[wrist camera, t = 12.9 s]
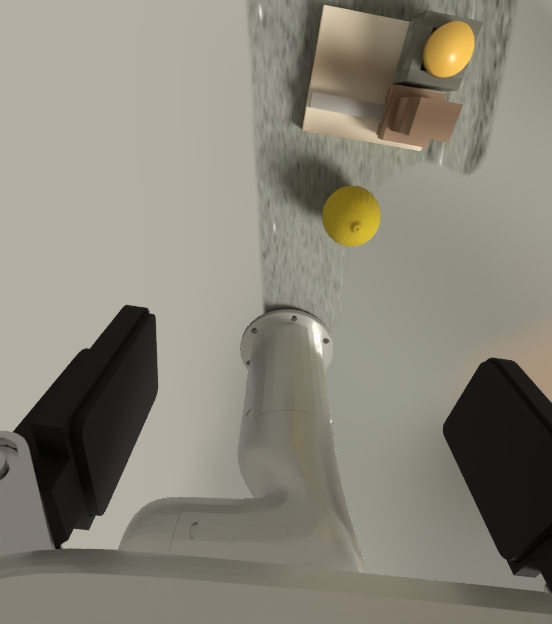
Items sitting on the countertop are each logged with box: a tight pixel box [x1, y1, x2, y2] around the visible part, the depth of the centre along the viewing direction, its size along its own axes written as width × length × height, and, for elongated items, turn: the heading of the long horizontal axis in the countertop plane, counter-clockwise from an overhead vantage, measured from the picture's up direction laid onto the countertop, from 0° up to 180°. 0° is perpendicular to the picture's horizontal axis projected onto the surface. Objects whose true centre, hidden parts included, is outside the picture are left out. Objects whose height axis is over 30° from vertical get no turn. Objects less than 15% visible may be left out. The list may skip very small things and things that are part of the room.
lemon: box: [322, 186, 381, 246], centre depth 34 cm, size 6×6×8 cm
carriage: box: [376, 85, 463, 148], centre depth 28 cm, size 4×4×8 cm
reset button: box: [420, 21, 474, 78], centre depth 27 cm, size 3×3×5 cm
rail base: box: [302, 5, 483, 151], centre depth 29 cm, size 9×12×6 cm
